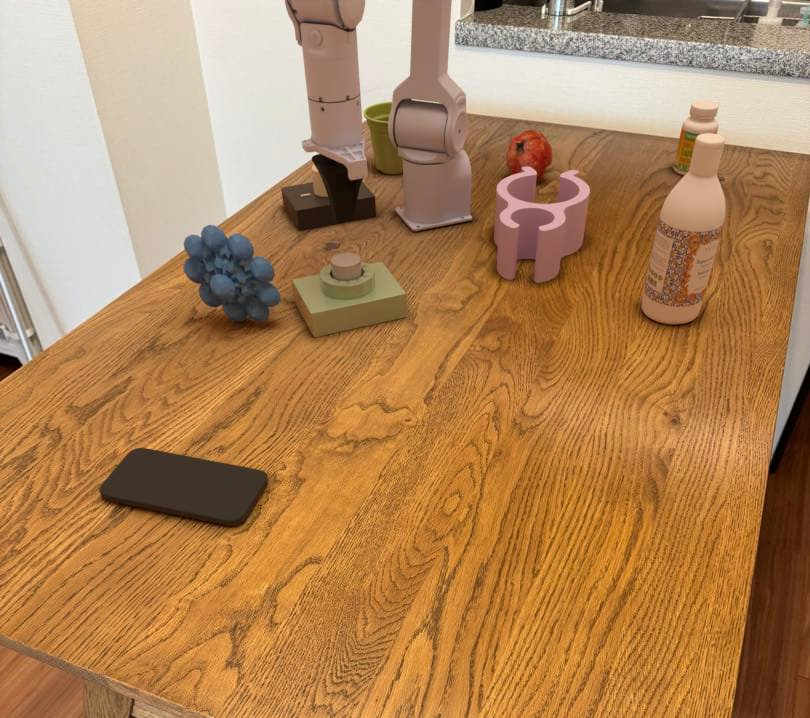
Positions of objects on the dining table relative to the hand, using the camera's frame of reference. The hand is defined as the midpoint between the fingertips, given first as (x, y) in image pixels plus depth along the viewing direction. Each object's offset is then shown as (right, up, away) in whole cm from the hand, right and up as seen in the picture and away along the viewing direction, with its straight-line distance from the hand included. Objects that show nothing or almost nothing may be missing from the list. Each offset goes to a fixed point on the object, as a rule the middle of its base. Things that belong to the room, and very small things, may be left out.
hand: (344, 219), depth 94 cm
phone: (-14, -34, -18) cm, 41 cm away
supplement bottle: (+53, +21, +32) cm, 66 cm away
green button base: (0, -10, +4) cm, 11 cm away
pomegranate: (+27, +20, +32) cm, 46 cm away
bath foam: (+40, -11, +2) cm, 41 cm away
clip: (+25, +2, +15) cm, 30 cm away
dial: (-4, +13, +23) cm, 27 cm away
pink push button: (0, -6, +1) cm, 6 cm away
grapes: (-13, -12, +3) cm, 18 cm away
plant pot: (+6, +23, +36) cm, 43 cm away
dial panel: (-4, +11, +25) cm, 28 cm away
